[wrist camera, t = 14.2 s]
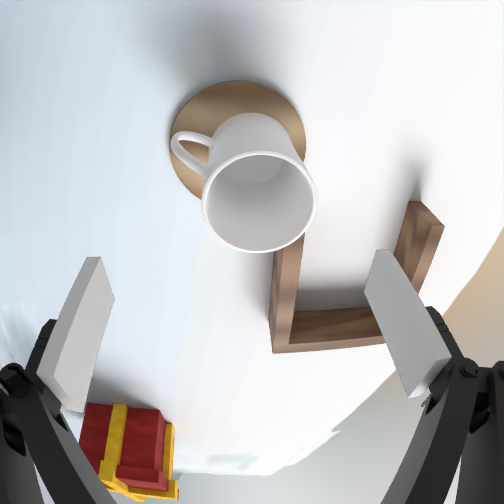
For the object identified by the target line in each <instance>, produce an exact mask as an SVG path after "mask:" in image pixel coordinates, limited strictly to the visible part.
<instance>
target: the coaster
mask: <svg viewBox="0 0 504 504" xmlns="http://www.w3.org/2000/svg"><path fill="white" fill-rule="evenodd" d="M242 113H260V114H264V115H267V116H269V117H271V118H273V119H275V120H276V121H278V122H279V123H280V124H281V125H282V126H283V127H284V128H285V130H286V131H287V133H288V134H289V136H290V139H291V142H292V145H293V147H294V149H295V150H296V152H297V154H298V155H299V157H300V159H301V160H302V162H303V161H304V158H305V152H306V138H305V132H304V128H303V124H302V122H301V120H300V118H299V116H298V114H297V112H296V111H295V109H294V108H293V107H292V106H291V104H290V103H289V102H288V101H287V100H286V99H284V98H283V97H282V96H281V95H280V94H278V93H277V92H275V91H274V90H272V89H270V88H268V87H266V86H263V85H260V84H257V83H253V82H248V81H229V82H224V83H219V84H216V85H213V86H211V87H209V88H207V89H205V90H203V91H201V92H200V93H198V94H197V95H195V96H194V97H193V98H192V99H191V100H190V101H189V102H188V103H187V104H186V105H185V106H184V107H183V109H182V110H181V111H180V113H179V114H178V116H177V118H176V120H175V122H174V124H173V127H172V131H171V135H170V142H169V144H170V143H171V139H172V137H173V136H174V134H176V133H177V132H181V131H189V132H195V133H199V134H202V135H205V136H208V137H211V138H212V136H213V134H214V132H215V131H216V129H217V128H218V127H219V126H220V125H221V124H222V123H223V122H225V121H226V120H227V119H229V118H231V117H233V116H235V115H238V114H242ZM178 141H179V143H180V144H181V146H182V147H183V148H184V149H185V150H186V151H188V152H189V153H190V154H191V155H193V156H194V157H196V158H197V159H199V160H201V161H202V162H204V163H207V164H208V162H209V147H208V146H206V145H204V144H201V143H198V142H194V141H189V140H178ZM170 157H171V161H172V165H173V168H174V170H175V172H176V174H177V176H178V178H179V179H180V181H181V182H182V183H183V185H184V186H185V187H186V188H187V189H188V190H189V191H190V192H191V193H192V194H194V195H195V196H197V197H198V198H200V199H201V200H202V192H203V187H204V182H205V178H204V177H203V176H202V175H200V174H199V173H197V172H196V171H194V170H193V169H191V168H190V167H188V166H187V165H186V164H184V163H183V162H182V161H181V160H180V159H179V158H178V157H177V156H176V155H175V154H174V152H173V151H172V148H171V144H170Z"/></svg>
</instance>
